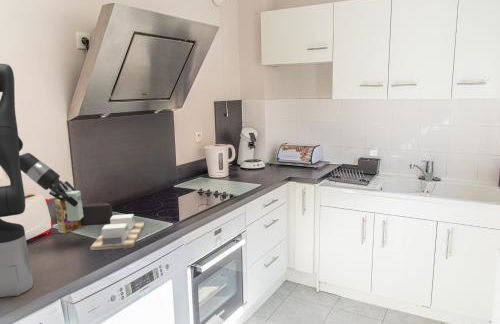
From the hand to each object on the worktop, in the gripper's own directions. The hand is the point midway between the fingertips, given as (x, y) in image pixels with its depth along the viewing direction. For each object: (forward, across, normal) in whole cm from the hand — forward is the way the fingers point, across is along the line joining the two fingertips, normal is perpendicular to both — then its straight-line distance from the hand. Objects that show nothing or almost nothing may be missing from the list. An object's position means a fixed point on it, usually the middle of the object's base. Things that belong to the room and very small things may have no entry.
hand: (78, 202), depth 150 cm
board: (+21, +5, +3) cm, 22 cm away
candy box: (+4, +18, +20) cm, 27 cm away
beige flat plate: (+20, +5, +2) cm, 21 cm away
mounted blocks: (+20, +5, +2) cm, 21 cm away
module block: (+3, 0, +6) cm, 7 cm away
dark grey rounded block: (+10, +23, +14) cm, 29 cm away
